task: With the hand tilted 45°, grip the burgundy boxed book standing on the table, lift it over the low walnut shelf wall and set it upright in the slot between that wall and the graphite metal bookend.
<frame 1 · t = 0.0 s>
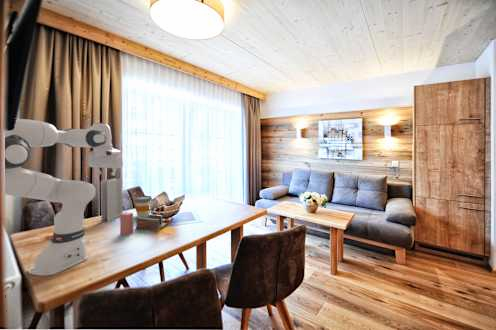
hand: (106, 174, 127), 39 cm above the table, tool pointing down, fingers open, 8 cm apart
book: (126, 233, 139), on the table
bookend: (155, 219, 154), point 4 cm above the table
shelf: (151, 227, 151), on the table
tall upright panel: (112, 218, 166), on the table
reusable coffee cup: (143, 216, 174), on the table
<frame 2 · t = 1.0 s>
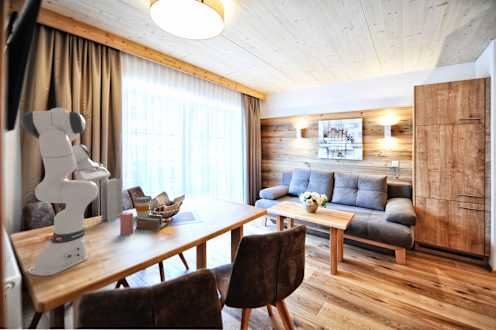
hand: (101, 184, 140), 31 cm above the table, tool tilted 45°, fingers open, 8 cm apart
nothing on the table moved.
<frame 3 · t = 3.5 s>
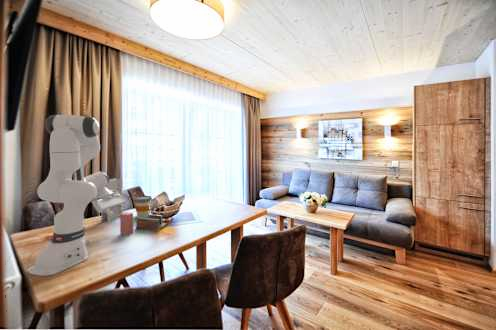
hand: (118, 212, 140), 13 cm above the table, tool tilted 45°, fingers open, 8 cm apart
nothing on the table moved.
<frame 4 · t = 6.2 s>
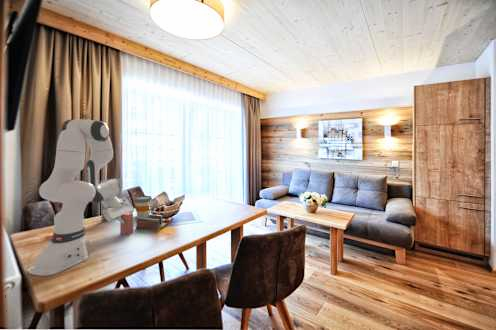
hand: (127, 221, 139), 8 cm above the table, tool tilted 45°, fingers closed on book, 4 cm apart
book: (126, 233, 139), on the table, touching gripper
everything else where it was.
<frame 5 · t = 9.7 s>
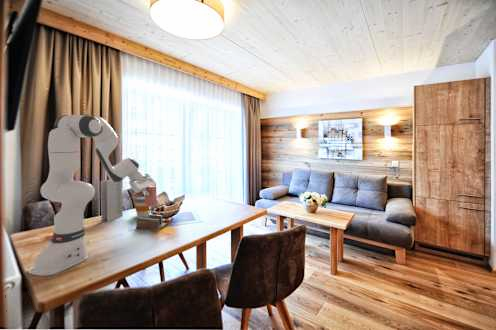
hand: (151, 193, 149), 24 cm above the table, tool tilted 45°, fingers closed on book, 4 cm apart
book: (150, 204, 149), point 16 cm above the table, touching gripper
everything else where it was.
when the fingers open (11 cm above the table, at t = 13.6 s): book drops 1 cm, resting on shelf.
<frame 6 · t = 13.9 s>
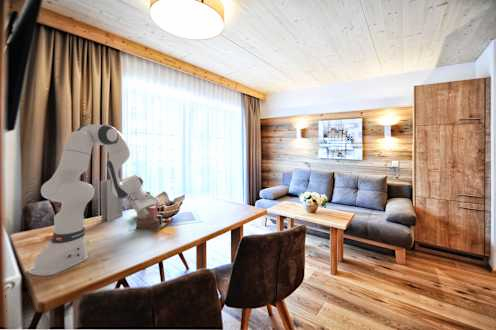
hand: (152, 212, 150), 11 cm above the table, tool tilted 45°, fingers open, 7 cm apart
book: (151, 225, 151), point 1 cm above the table, touching shelf
everything else where it was.
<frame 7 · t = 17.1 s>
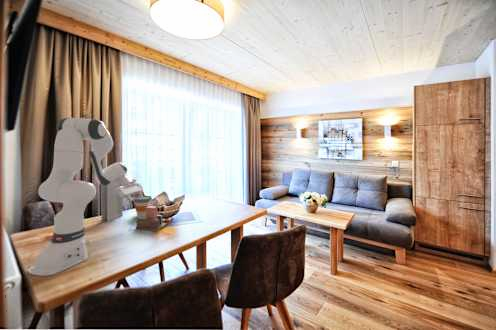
hand: (137, 198, 151), 19 cm above the table, tool tilted 45°, fingers open, 8 cm apart
nothing on the table moved.
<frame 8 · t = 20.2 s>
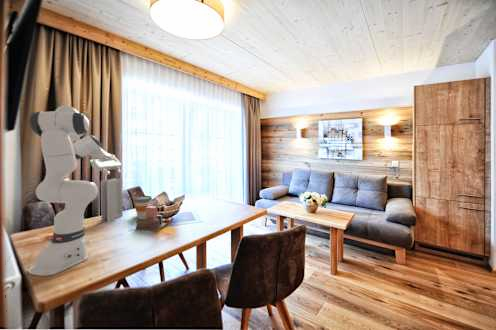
hand: (114, 173, 146), 37 cm above the table, tool tilted 45°, fingers open, 8 cm apart
nothing on the table moved.
at the end: book inside the target area on the shelf (0.1 cm from its centre), point 1.5 cm above the shelf's base; book tilted 0°; the gripper is holding nothing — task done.
